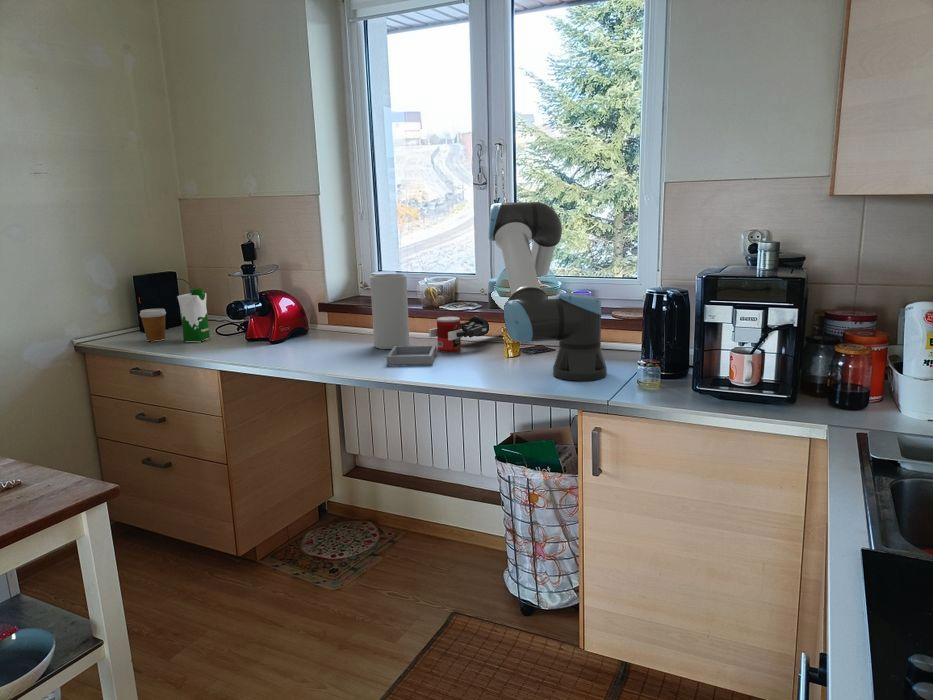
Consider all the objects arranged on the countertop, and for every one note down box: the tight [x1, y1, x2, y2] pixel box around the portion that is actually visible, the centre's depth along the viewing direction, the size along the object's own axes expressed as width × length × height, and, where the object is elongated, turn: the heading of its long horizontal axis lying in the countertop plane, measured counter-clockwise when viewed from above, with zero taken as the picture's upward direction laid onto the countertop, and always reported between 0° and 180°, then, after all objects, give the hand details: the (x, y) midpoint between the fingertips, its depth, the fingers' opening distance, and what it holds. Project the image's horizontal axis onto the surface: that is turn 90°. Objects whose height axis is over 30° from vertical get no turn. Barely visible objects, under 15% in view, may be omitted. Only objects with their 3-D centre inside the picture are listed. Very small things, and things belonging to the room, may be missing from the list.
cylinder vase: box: [369, 273, 410, 350], centre depth 242 cm, size 12×12×25 cm
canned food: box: [436, 316, 462, 353], centre depth 235 cm, size 8×8×11 cm
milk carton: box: [176, 288, 211, 342], centre depth 263 cm, size 9×9×20 cm
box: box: [386, 344, 437, 367], centre depth 223 cm, size 16×14×3 cm
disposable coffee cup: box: [138, 308, 167, 341], centre depth 267 cm, size 10×10×12 cm
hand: (439, 335), depth 231 cm, fingers closed on canned food, 8 cm apart
